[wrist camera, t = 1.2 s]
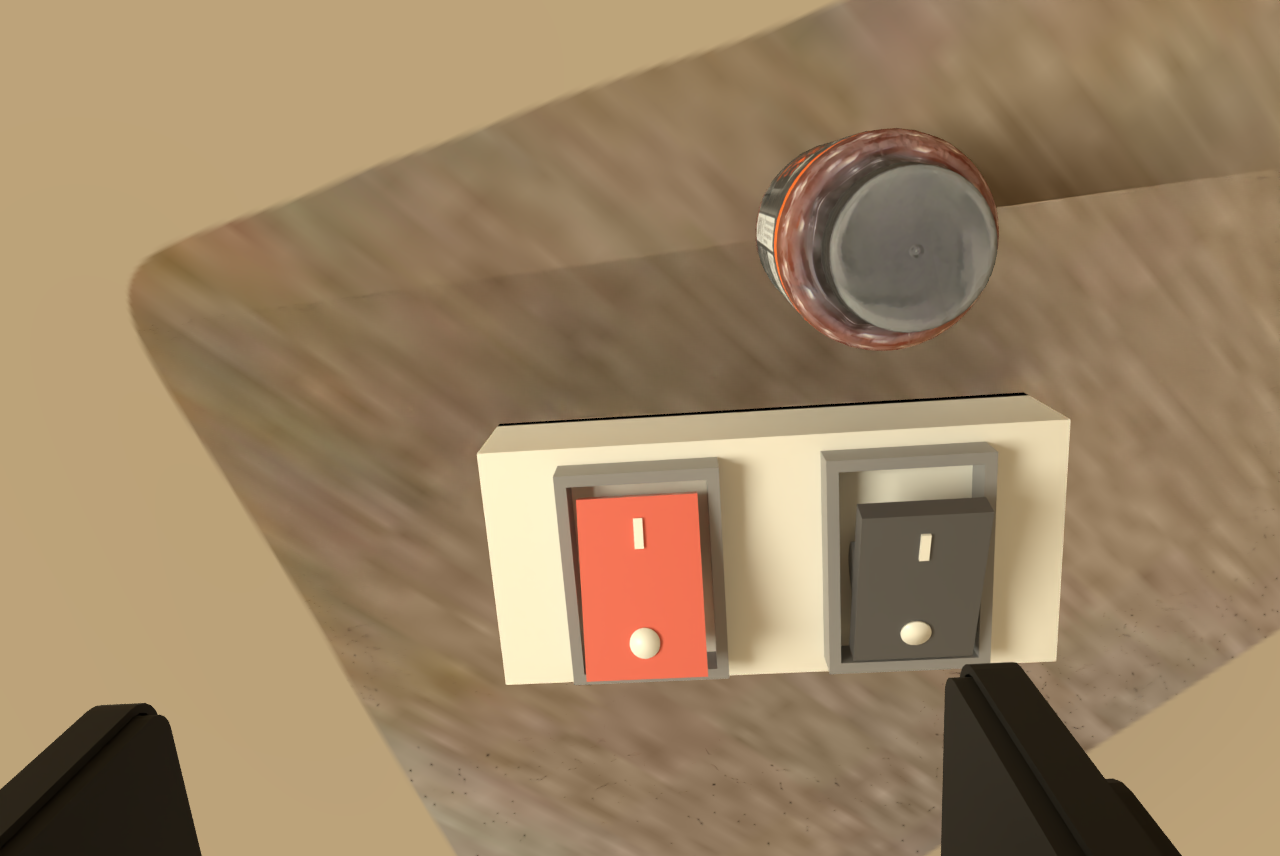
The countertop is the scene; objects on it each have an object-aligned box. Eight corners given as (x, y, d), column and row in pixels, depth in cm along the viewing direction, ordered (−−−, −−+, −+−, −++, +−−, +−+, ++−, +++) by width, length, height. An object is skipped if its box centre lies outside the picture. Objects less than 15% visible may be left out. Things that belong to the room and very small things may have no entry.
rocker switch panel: (1023, 392, 33) (1086, 428, 28) (1014, 609, 35) (1070, 679, 30) (499, 423, 34) (468, 464, 29) (524, 632, 36) (499, 703, 31)
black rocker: (973, 473, 28) (995, 514, 26) (954, 612, 31) (973, 657, 29) (849, 480, 29) (862, 520, 27) (842, 618, 32) (854, 663, 30)
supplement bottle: (885, 114, 30) (1003, 71, 19) (940, 272, 32) (1079, 315, 21) (726, 185, 31) (754, 183, 20) (786, 336, 33) (843, 410, 22)
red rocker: (696, 488, 30) (697, 493, 28) (706, 659, 30) (708, 677, 28) (583, 494, 31) (575, 500, 28) (593, 664, 31) (586, 682, 29)
